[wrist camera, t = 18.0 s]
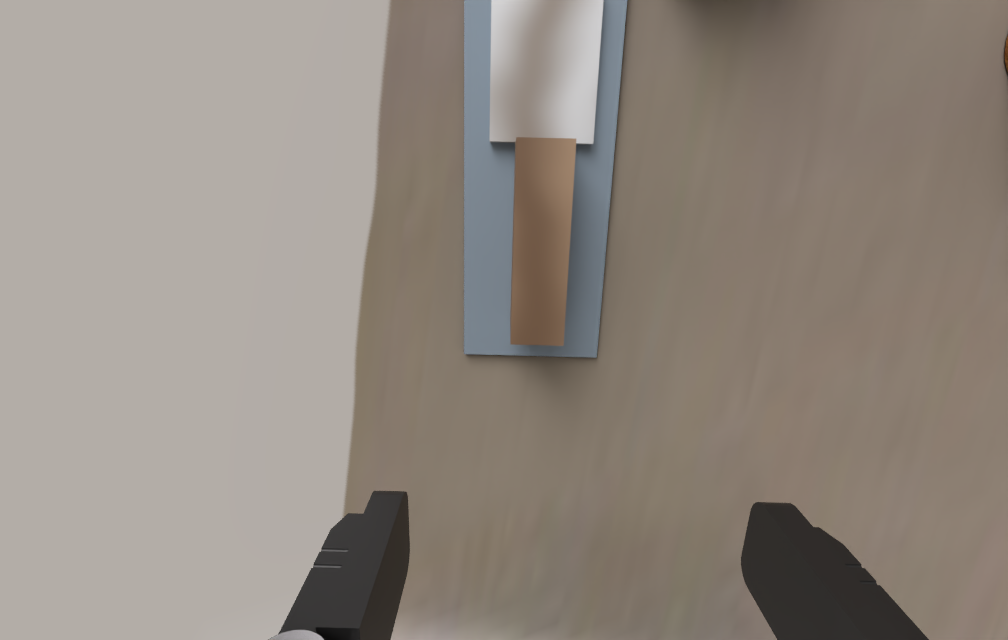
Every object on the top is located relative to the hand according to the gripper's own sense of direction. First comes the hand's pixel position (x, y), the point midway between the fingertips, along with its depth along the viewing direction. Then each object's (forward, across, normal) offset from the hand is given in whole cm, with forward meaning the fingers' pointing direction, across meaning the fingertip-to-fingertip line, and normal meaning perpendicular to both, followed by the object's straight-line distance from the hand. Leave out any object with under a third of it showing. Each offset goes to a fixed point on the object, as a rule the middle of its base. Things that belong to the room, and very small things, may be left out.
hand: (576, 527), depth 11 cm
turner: (+22, 0, -8) cm, 23 cm away
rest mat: (+22, 0, -7) cm, 23 cm away
